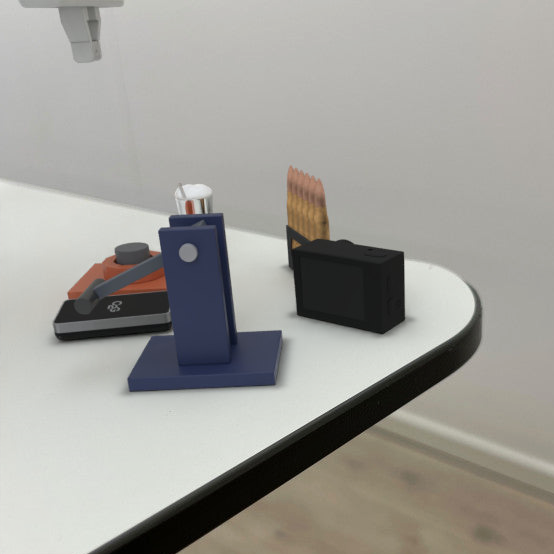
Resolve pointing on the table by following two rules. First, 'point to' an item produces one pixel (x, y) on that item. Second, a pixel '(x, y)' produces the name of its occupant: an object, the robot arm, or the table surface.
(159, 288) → the button block
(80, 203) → the table surface
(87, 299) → the switch lever
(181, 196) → the milkshake
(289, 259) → the ammunition clip
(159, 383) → the switch bracket
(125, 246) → the button
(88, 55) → the robot arm
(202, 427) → the table surface
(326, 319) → the digital camera
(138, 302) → the external hard drive
